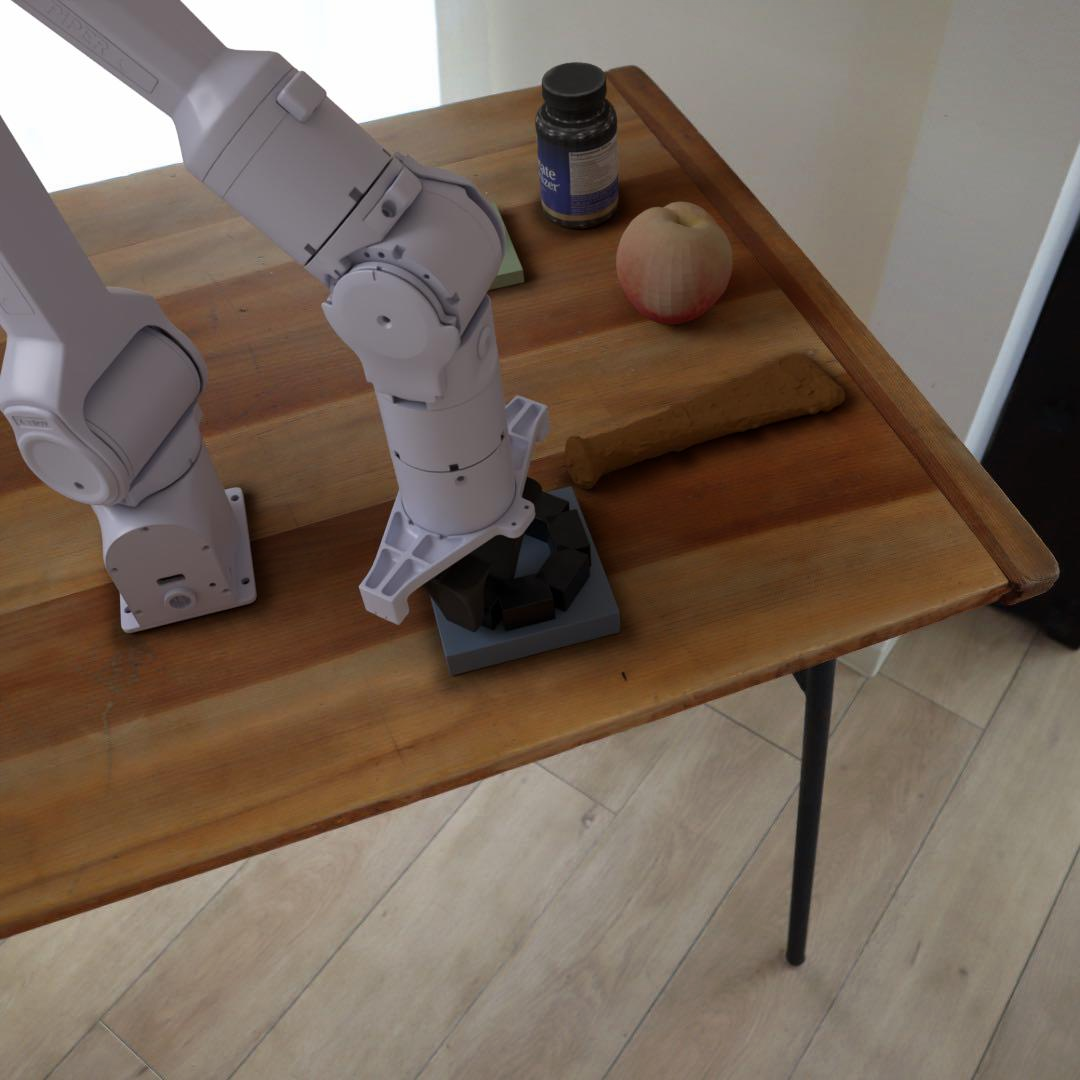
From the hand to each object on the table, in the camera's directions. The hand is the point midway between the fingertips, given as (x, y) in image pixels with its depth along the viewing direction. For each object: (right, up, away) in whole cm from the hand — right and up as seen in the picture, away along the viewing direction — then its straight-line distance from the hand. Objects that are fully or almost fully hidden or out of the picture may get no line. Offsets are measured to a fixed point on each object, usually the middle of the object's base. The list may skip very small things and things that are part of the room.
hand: (479, 600), depth 66 cm
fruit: (+13, +20, +19) cm, 31 cm away
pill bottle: (+7, +30, +28) cm, 41 cm away
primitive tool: (+14, +11, +11) cm, 21 cm away
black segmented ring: (+2, +2, +2) cm, 3 cm away
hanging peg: (-3, +25, +24) cm, 35 cm away
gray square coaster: (+2, +1, +4) cm, 4 cm away
